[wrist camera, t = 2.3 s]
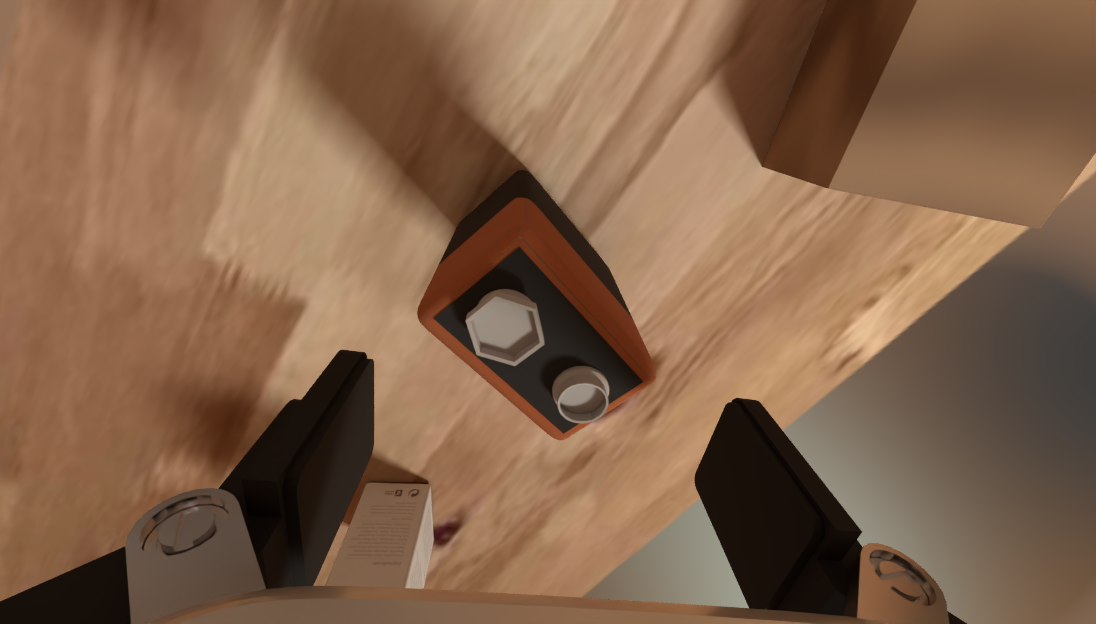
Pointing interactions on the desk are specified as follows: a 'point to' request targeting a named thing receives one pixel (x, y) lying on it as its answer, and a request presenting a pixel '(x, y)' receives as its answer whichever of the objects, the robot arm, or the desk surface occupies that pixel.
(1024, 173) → the walnut block
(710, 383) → the desk surface
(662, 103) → the desk surface
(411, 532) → the skincare box
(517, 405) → the battery
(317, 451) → the robot arm
